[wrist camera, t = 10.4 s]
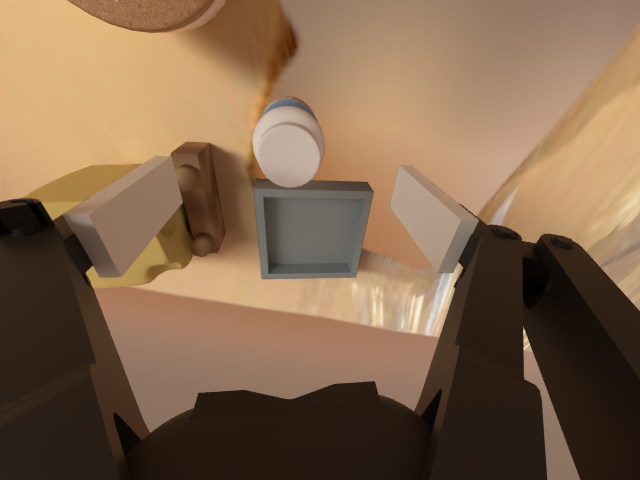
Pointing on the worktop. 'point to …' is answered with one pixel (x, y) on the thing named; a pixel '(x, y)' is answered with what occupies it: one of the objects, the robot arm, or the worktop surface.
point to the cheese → (159, 254)
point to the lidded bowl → (153, 13)
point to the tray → (311, 228)
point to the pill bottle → (288, 142)
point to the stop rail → (200, 196)
